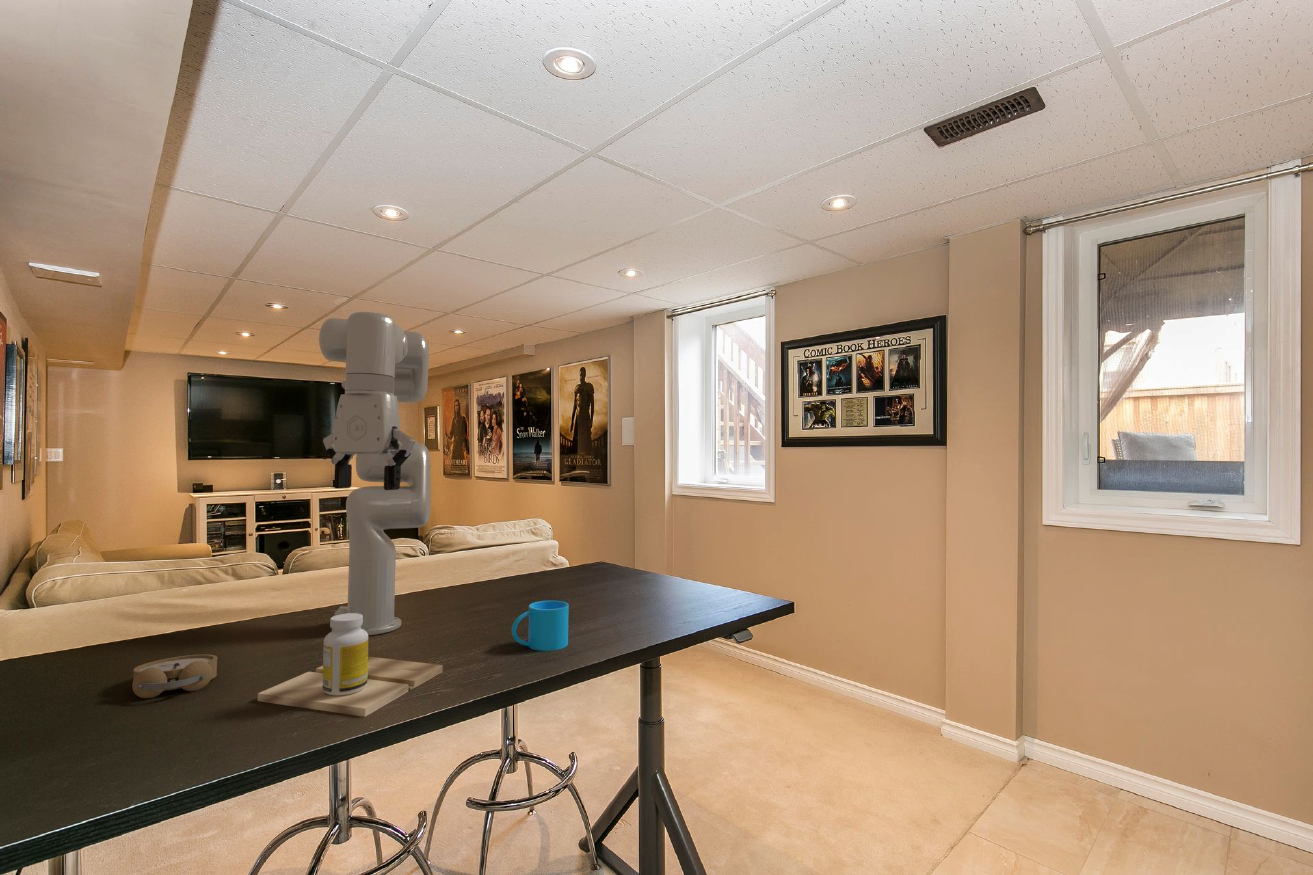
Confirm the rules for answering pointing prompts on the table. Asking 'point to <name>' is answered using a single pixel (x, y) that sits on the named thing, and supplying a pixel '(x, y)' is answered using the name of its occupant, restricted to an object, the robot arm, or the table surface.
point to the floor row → (399, 671)
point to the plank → (311, 695)
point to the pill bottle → (345, 655)
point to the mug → (545, 626)
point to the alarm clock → (174, 674)
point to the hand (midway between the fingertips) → (367, 488)
